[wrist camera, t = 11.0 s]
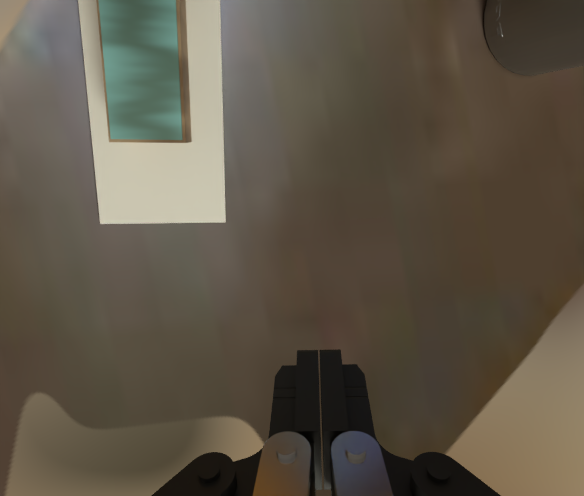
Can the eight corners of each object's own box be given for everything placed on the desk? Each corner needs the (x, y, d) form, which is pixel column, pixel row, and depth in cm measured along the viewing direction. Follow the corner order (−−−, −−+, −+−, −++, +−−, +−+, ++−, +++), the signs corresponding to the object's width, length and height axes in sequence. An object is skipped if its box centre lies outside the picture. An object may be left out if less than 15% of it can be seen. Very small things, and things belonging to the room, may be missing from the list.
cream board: (219, -31, 32) (219, -34, 32) (225, 220, 37) (225, 222, 36) (76, -41, 31) (73, -44, 30) (102, 222, 35) (100, 223, 35)
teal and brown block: (191, 142, 34) (184, -29, 31) (185, 143, 29) (176, -61, 26) (125, 141, 34) (112, -34, 31) (107, 142, 29) (88, -67, 26)
